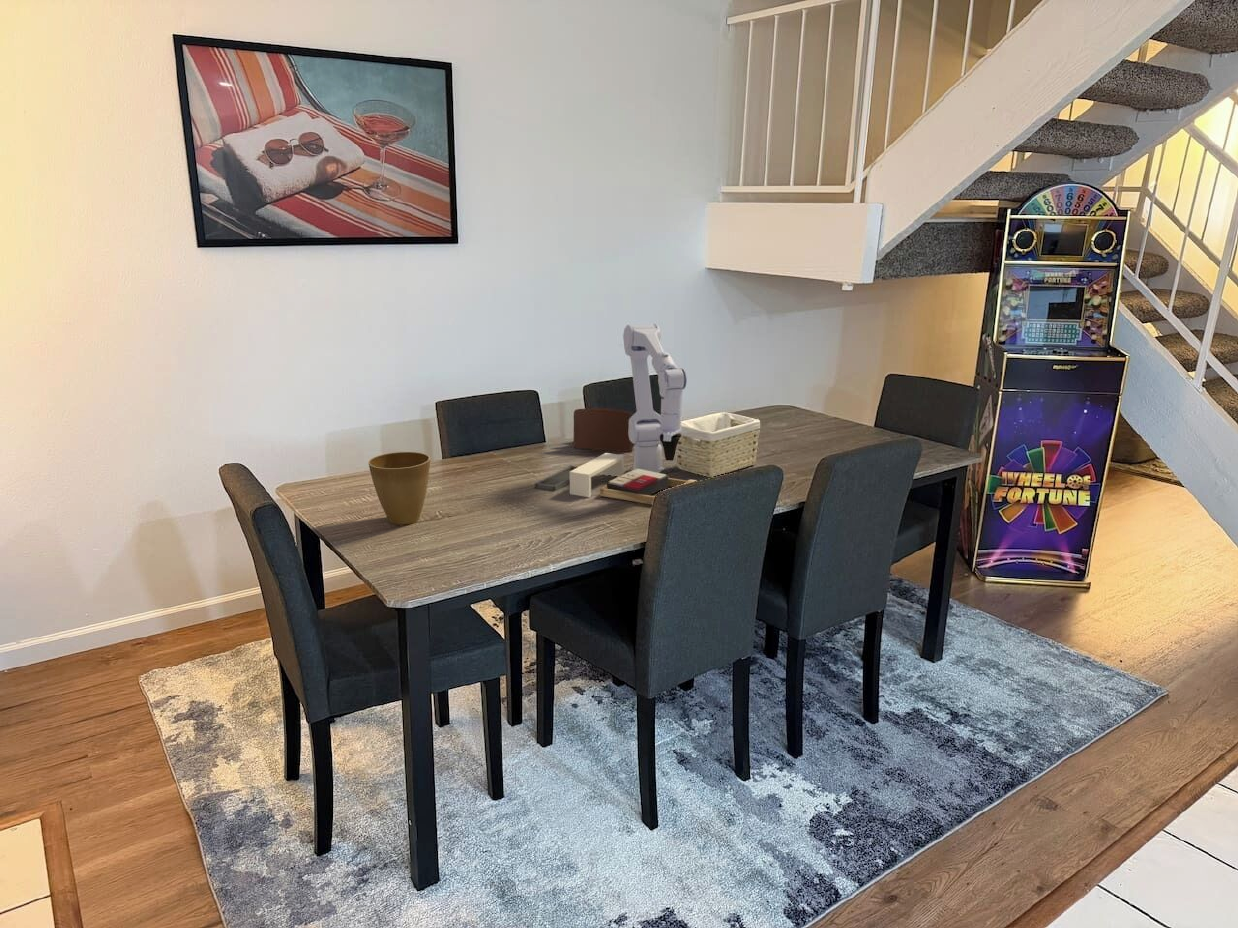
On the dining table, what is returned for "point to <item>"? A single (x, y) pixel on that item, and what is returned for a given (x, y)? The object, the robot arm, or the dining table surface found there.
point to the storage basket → (717, 444)
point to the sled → (638, 497)
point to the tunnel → (584, 474)
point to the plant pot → (401, 484)
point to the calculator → (639, 482)
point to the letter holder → (602, 429)
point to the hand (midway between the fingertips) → (669, 459)
